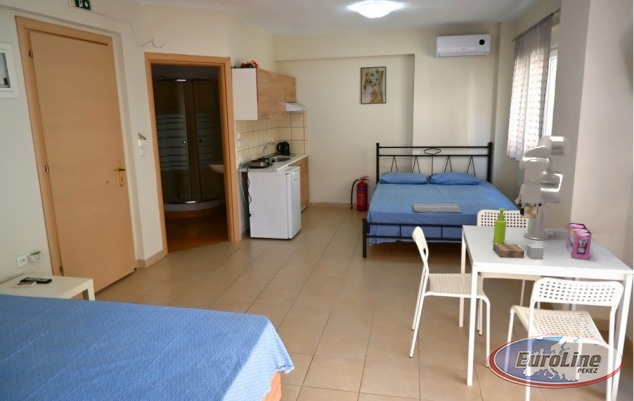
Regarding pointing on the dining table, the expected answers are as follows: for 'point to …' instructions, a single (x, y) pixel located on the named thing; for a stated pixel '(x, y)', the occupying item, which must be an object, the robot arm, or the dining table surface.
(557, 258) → the dining table surface
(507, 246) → the walnut block
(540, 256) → the grey cube
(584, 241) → the gum box
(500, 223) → the soap dispenser
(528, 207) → the maple cube
